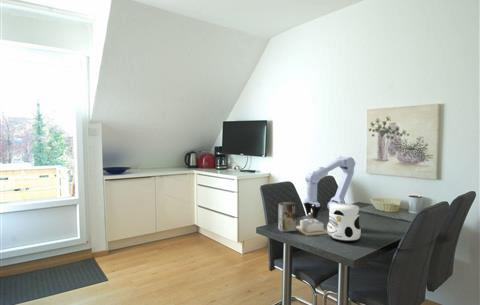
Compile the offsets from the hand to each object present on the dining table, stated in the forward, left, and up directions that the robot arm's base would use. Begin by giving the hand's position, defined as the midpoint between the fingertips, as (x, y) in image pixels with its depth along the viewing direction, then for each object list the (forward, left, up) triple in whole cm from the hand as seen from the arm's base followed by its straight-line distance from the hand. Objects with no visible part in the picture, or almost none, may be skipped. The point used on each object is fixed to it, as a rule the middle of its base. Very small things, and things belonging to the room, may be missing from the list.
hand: (311, 216), depth 183 cm
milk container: (-9, +18, -8) cm, 22 cm away
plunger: (0, 0, -4) cm, 4 cm away
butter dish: (0, 0, -8) cm, 8 cm away
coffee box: (+14, -4, -9) cm, 17 cm away
